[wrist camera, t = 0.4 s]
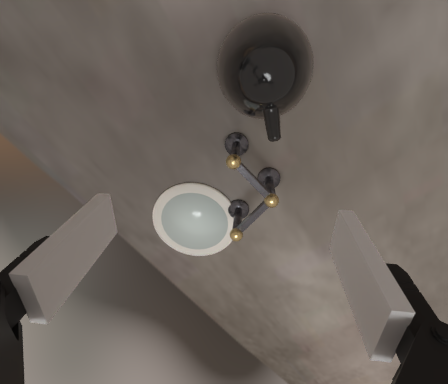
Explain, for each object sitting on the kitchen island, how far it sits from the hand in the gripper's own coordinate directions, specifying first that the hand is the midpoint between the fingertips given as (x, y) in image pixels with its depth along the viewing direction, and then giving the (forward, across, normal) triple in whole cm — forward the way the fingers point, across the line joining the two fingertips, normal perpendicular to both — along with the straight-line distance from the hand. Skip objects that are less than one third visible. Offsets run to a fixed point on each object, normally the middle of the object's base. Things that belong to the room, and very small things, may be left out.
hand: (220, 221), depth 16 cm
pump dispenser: (+24, +2, +7) cm, 25 cm away
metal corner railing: (+24, 0, -8) cm, 25 cm away
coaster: (+24, -7, -16) cm, 30 cm away
